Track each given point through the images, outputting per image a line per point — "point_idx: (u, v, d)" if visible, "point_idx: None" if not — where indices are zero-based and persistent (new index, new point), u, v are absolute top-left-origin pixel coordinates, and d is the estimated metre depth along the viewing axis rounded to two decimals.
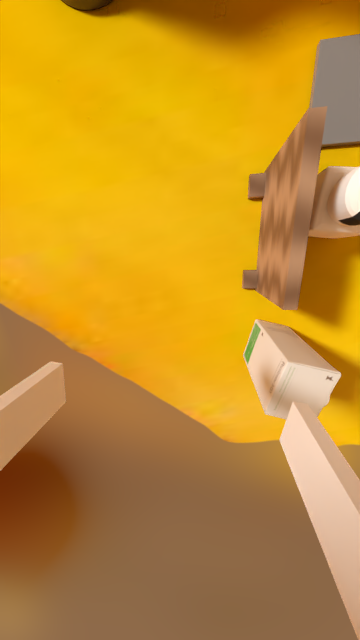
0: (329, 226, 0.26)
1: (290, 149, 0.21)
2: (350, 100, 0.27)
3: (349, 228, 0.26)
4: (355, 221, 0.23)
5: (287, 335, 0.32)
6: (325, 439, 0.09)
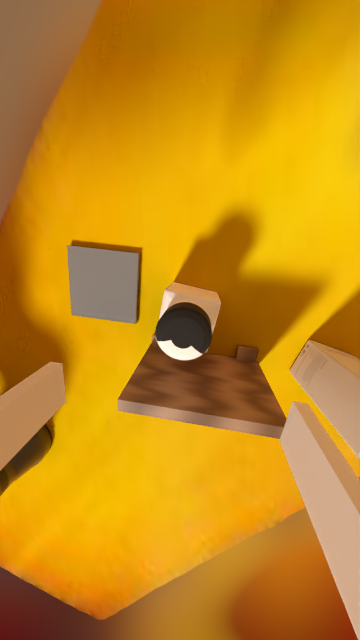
0: None
1: None
2: (108, 291, 0.32)
3: (212, 322, 0.25)
4: None
5: (320, 374, 0.27)
6: (325, 439, 0.09)
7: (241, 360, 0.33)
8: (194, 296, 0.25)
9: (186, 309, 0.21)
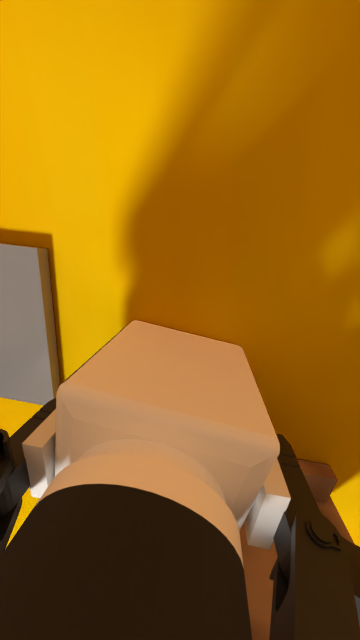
0: None
1: None
2: None
3: (241, 508, 0.07)
4: None
5: None
6: None
7: None
8: (172, 418, 0.06)
9: None
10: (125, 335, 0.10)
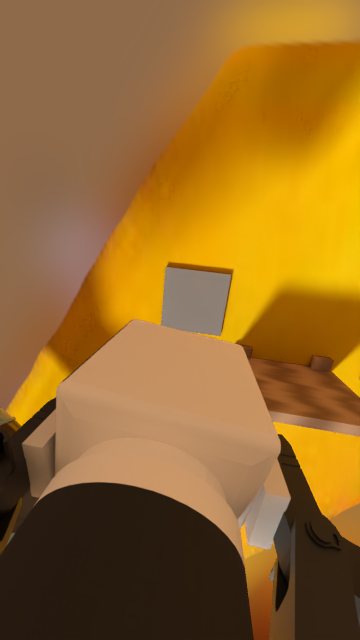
0: None
1: None
2: (198, 307, 0.36)
3: (241, 507, 0.07)
4: None
5: None
6: None
7: (316, 369, 0.37)
8: (172, 416, 0.06)
9: None
10: (125, 334, 0.10)
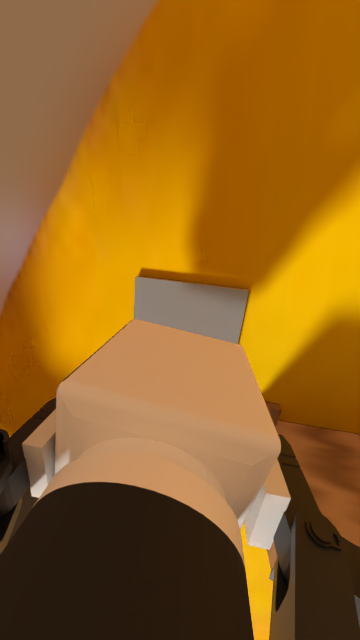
0: None
1: None
2: None
3: (242, 507, 0.07)
4: None
5: None
6: None
7: None
8: (172, 416, 0.06)
9: None
10: (125, 334, 0.10)
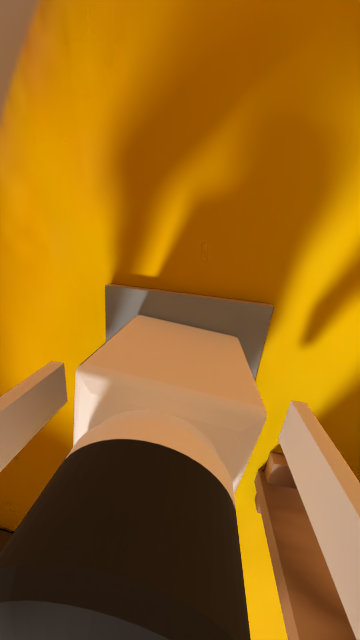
0: None
1: None
2: None
3: (235, 470, 0.08)
4: None
5: None
6: (323, 438, 0.09)
7: None
8: (174, 391, 0.07)
9: (98, 590, 0.03)
10: (131, 327, 0.11)
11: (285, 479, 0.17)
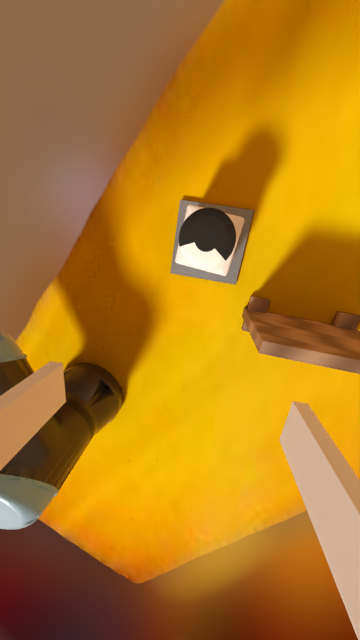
0: (227, 261, 0.26)
1: None
2: None
3: None
4: None
5: None
6: (325, 439, 0.09)
7: (341, 326, 0.33)
8: None
9: (212, 208, 0.21)
10: None
11: (257, 306, 0.34)
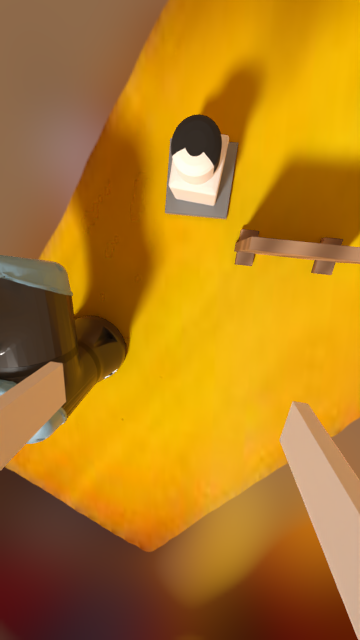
0: (215, 179, 0.28)
1: (255, 251, 0.28)
2: None
3: (221, 158, 0.28)
4: (218, 161, 0.25)
5: None
6: (325, 439, 0.09)
7: None
8: None
9: (199, 115, 0.23)
10: None
11: (247, 238, 0.36)
